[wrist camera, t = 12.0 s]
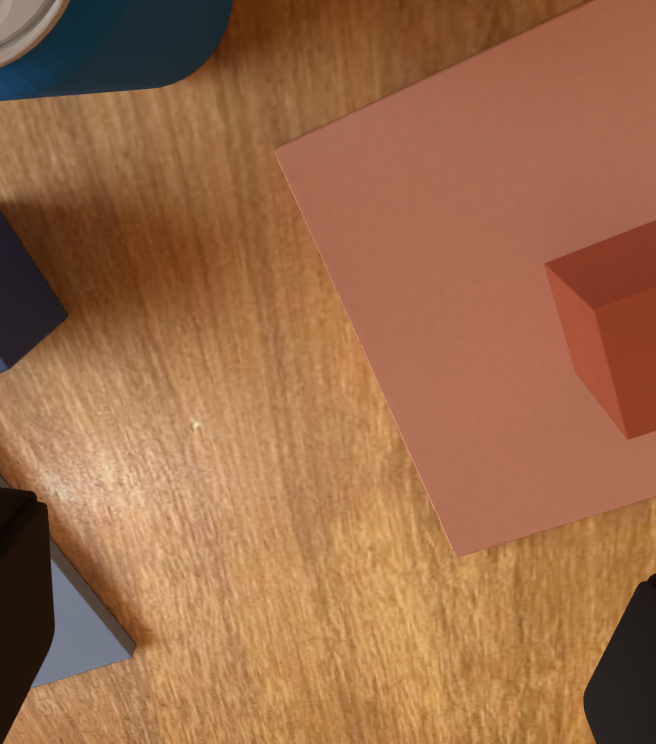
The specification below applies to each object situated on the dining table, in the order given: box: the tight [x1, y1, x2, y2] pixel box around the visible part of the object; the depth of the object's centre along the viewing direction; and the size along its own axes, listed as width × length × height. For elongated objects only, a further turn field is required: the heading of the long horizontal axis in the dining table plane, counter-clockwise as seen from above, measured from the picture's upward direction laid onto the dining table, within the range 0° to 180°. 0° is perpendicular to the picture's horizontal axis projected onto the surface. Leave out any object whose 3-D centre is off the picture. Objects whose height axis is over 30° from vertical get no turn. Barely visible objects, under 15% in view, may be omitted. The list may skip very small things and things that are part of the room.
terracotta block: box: [544, 220, 656, 440], centre depth 21 cm, size 5×5×5 cm
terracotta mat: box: [274, 0, 656, 557], centre depth 24 cm, size 20×20×1 cm
